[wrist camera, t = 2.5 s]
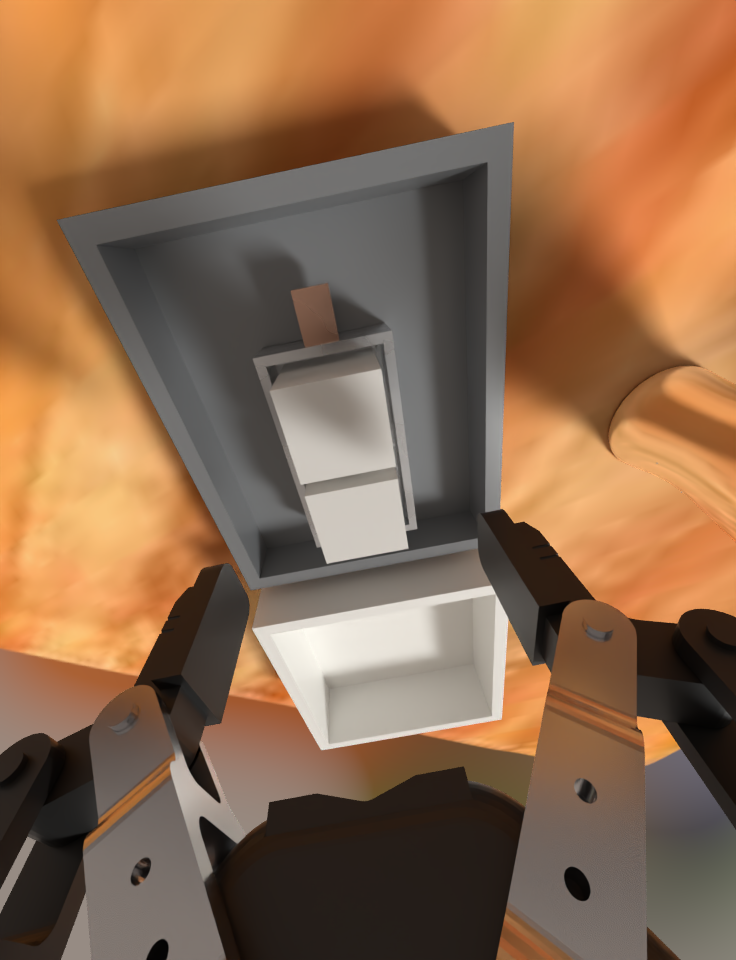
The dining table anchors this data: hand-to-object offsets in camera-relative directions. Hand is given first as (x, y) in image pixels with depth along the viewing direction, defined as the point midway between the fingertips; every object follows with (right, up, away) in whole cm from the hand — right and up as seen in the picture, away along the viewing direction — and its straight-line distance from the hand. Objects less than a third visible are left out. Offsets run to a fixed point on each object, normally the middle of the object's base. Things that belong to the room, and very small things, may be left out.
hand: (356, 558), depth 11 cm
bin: (+2, -9, +16) cm, 19 cm away
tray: (-1, +7, +7) cm, 10 cm away
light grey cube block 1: (-1, +6, +5) cm, 9 cm away
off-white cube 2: (0, +3, +8) cm, 8 cm away
